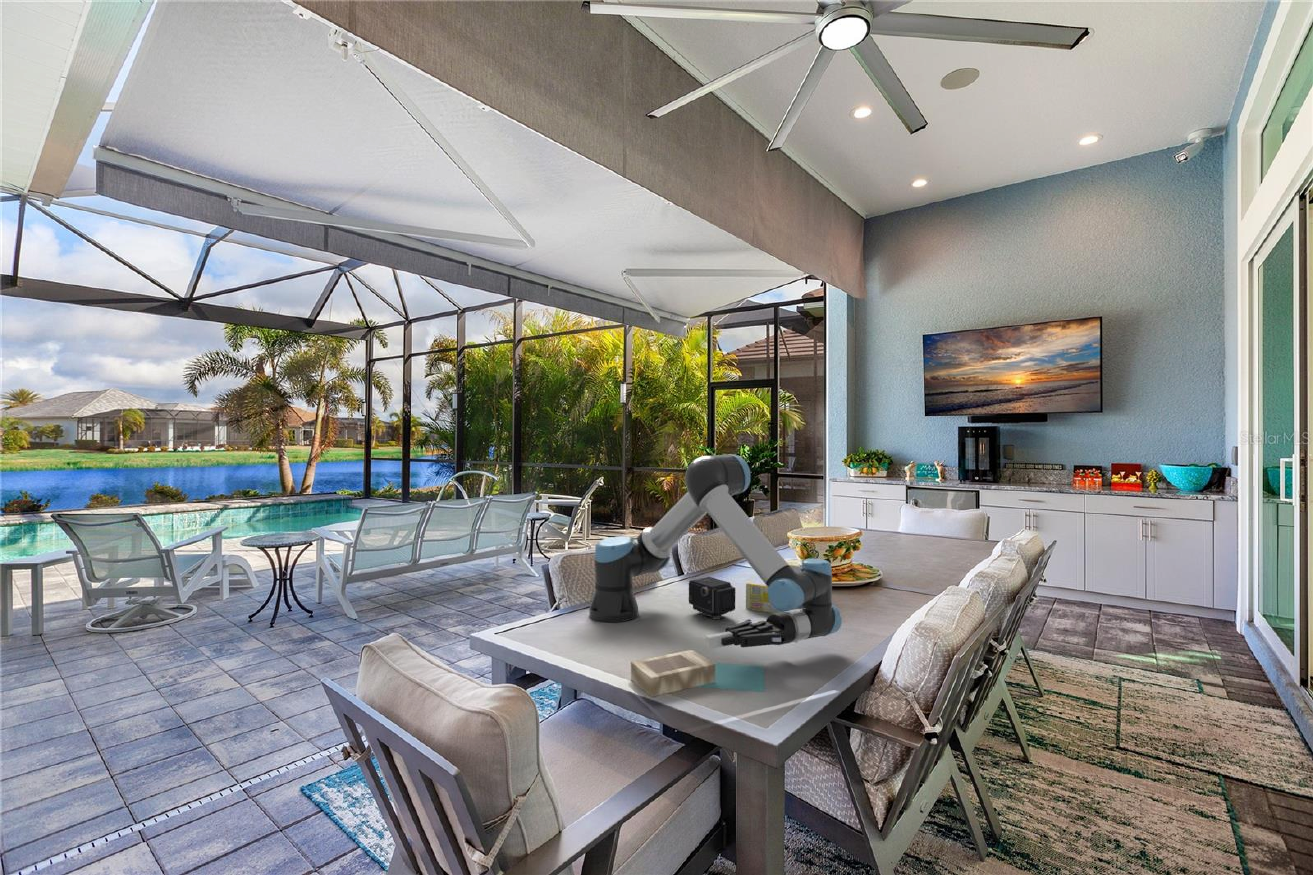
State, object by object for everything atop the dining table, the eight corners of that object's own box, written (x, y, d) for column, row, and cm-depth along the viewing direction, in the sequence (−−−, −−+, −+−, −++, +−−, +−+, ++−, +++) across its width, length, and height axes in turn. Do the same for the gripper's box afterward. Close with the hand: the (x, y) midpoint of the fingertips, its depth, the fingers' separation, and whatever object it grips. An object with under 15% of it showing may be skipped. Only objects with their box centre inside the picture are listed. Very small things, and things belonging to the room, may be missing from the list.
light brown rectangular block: (715, 682, 131) (651, 696, 124) (691, 666, 140) (631, 679, 133) (715, 664, 131) (651, 677, 124) (691, 649, 140) (631, 661, 133)
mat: (645, 686, 131) (645, 683, 131) (655, 662, 144) (655, 659, 144) (764, 694, 126) (764, 691, 126) (763, 668, 140) (763, 666, 140)
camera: (684, 617, 184) (717, 624, 172) (682, 580, 185) (714, 585, 173) (710, 610, 190) (743, 617, 178) (707, 575, 191) (740, 579, 179)
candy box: (796, 615, 182) (796, 588, 182) (794, 617, 180) (794, 590, 180) (748, 607, 191) (748, 581, 191) (745, 609, 189) (745, 583, 189)
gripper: (805, 650, 141) (723, 668, 130) (770, 634, 152) (692, 649, 141) (805, 619, 141) (723, 634, 130) (770, 605, 152) (692, 618, 141)
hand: (707, 642), depth 136 cm, fingers closed
